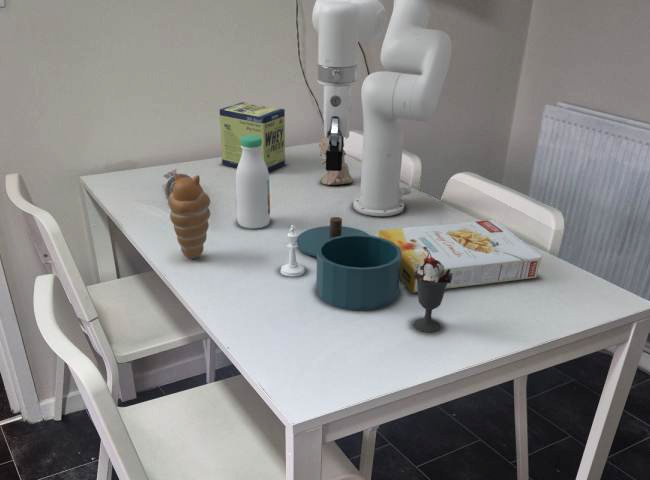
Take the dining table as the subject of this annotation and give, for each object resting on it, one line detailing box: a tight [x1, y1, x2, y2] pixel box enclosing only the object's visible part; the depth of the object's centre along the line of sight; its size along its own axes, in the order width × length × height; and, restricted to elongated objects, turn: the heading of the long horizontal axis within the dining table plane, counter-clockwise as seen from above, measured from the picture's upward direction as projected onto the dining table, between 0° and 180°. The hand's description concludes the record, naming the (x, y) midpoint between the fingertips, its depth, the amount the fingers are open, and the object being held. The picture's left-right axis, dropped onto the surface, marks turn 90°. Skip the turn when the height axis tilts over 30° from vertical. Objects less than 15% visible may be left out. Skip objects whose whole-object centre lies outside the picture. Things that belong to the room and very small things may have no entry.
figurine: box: [318, 135, 354, 186], centre depth 189 cm, size 9×8×20 cm
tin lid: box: [296, 216, 370, 258], centre depth 157 cm, size 17×17×6 cm
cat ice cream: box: [167, 172, 211, 260], centre depth 148 cm, size 9×8×18 cm
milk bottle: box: [235, 135, 271, 229], centre depth 164 cm, size 8×8×20 cm
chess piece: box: [280, 224, 305, 277], centre depth 145 cm, size 5×5×10 cm
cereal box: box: [378, 219, 542, 294], centre depth 149 cm, size 20×6×28 cm
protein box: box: [219, 101, 286, 173], centre depth 202 cm, size 10×16×16 cm
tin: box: [315, 234, 402, 311], centre depth 138 cm, size 16×16×8 cm
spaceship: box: [162, 168, 192, 200], centre depth 176 cm, size 8×35×8 cm
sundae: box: [412, 247, 452, 333], centre depth 125 cm, size 7×7×15 cm
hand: (334, 162), depth 147 cm, fingers open, 9 cm apart
